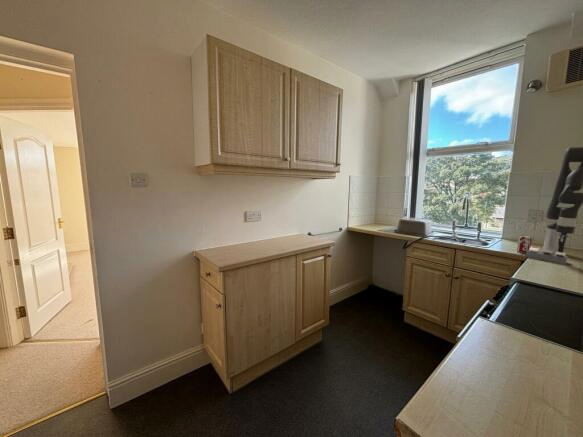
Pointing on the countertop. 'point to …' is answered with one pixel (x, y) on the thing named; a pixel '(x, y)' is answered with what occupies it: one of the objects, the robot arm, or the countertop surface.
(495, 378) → the countertop surface
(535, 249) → the rocker
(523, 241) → the soda can
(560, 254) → the rocker
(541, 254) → the power strip
